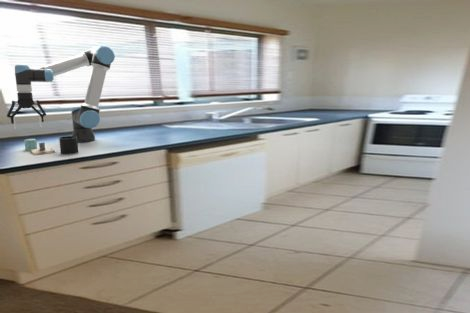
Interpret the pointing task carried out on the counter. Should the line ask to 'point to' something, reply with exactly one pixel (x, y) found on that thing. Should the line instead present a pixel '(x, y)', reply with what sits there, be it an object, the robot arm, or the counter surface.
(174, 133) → the counter surface
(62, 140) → the mug
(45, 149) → the post block
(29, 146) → the cap
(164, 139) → the counter surface
